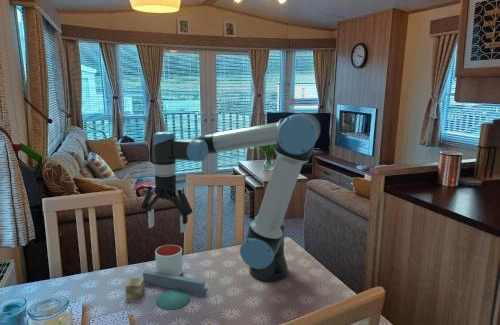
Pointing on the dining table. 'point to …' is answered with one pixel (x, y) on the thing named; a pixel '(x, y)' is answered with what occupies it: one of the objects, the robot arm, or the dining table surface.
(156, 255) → the cup
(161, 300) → the coaster
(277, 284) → the dining table surface
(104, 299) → the dining table surface
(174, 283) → the rail
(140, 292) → the oak block
